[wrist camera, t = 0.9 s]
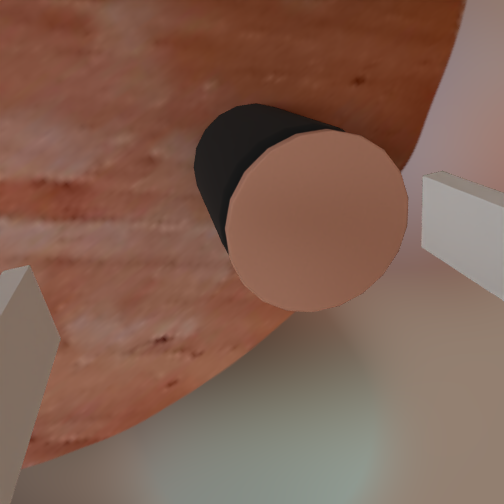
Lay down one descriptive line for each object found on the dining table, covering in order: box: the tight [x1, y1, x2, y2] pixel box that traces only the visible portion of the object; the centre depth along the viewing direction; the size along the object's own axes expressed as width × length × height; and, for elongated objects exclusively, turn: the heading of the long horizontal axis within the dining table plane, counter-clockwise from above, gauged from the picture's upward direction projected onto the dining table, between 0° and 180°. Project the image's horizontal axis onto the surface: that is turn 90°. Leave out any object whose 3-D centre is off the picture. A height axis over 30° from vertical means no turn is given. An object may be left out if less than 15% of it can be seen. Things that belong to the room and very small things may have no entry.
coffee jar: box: [194, 104, 408, 312], centre depth 32 cm, size 11×11×18 cm
